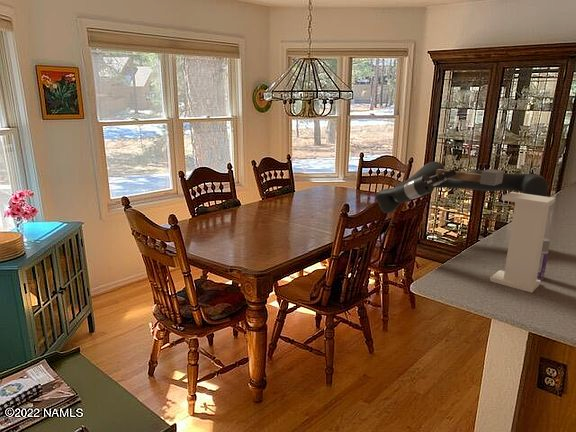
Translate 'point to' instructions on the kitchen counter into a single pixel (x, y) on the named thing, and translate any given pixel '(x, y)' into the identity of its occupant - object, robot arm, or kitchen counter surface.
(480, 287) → the kitchen counter surface
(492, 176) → the mallet
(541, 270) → the container
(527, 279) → the stand
